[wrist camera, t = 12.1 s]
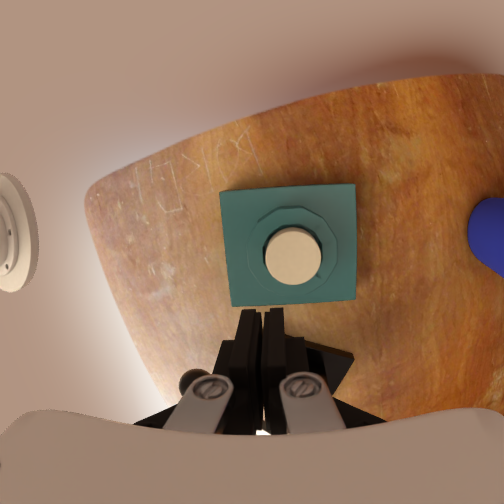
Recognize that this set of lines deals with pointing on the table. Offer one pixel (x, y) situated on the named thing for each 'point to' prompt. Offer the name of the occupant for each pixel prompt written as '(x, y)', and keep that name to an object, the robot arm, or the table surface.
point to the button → (293, 256)
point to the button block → (284, 216)
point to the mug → (488, 233)
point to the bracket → (328, 363)
